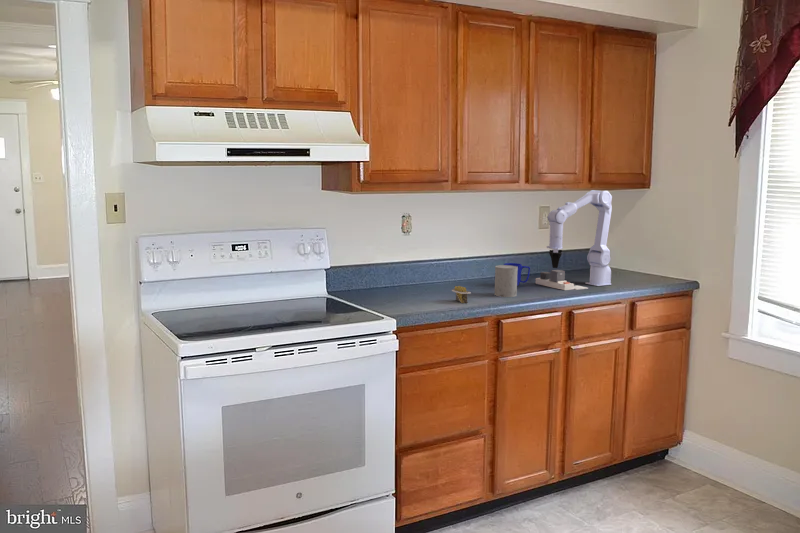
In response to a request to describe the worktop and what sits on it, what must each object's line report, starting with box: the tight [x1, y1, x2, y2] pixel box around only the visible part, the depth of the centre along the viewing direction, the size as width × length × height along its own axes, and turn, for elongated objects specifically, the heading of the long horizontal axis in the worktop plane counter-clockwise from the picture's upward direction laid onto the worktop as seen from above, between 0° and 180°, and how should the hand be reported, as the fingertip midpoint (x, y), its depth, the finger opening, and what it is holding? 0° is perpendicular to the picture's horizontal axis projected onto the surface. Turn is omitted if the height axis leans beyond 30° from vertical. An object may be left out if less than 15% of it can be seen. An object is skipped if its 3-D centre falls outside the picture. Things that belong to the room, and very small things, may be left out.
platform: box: [451, 285, 472, 304], centre depth 275 cm, size 12×18×7 cm, turn 29°
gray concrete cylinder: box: [494, 264, 518, 298], centre depth 290 cm, size 10×10×12 cm
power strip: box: [535, 271, 575, 291], centre depth 314 cm, size 6×20×6 cm, turn 29°
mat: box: [573, 285, 589, 291], centre depth 310 cm, size 7×7×1 cm
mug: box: [503, 262, 531, 287], centre depth 314 cm, size 8×12×10 cm
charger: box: [550, 269, 566, 283], centre depth 311 cm, size 4×5×5 cm
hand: (555, 266), depth 308 cm, fingers open, 7 cm apart
